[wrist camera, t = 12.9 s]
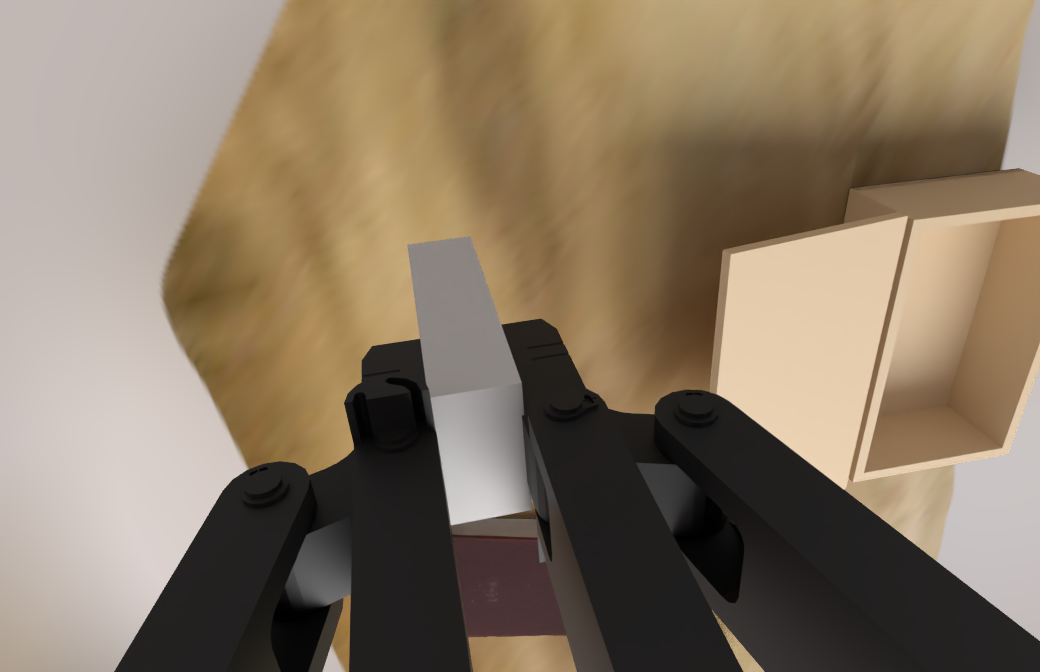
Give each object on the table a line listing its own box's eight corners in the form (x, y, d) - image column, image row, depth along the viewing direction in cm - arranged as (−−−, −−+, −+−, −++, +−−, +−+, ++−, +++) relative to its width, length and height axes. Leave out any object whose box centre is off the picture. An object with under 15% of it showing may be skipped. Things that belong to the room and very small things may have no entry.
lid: (908, 215, 45) (896, 211, 46) (730, 254, 41) (721, 249, 42) (845, 488, 56) (837, 481, 57) (701, 538, 53) (694, 530, 53)
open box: (849, 188, 52) (913, 220, 46) (1020, 168, 54) (1103, 196, 48) (805, 430, 62) (852, 482, 56) (948, 406, 64) (1009, 454, 58)
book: (614, 613, 70) (624, 641, 67) (419, 615, 65) (422, 645, 62) (649, 515, 65) (662, 541, 62) (440, 510, 60) (444, 537, 57)
